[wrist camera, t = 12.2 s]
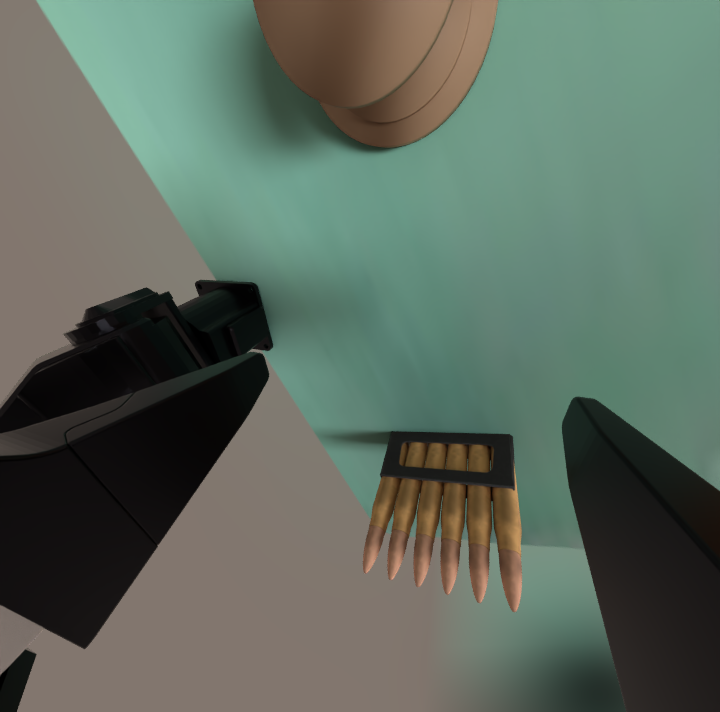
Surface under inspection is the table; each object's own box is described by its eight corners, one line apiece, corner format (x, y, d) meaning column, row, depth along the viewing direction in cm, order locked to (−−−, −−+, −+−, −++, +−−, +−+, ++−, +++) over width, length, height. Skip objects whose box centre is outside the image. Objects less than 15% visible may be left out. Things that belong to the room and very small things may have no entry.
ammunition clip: (512, 434, 24) (534, 609, 15) (513, 449, 25) (535, 624, 15) (391, 431, 29) (348, 562, 19) (395, 444, 29) (356, 577, 20)
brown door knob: (322, 154, 18) (258, 151, 13) (295, -91, 13) (173, -261, 8) (480, 138, 15) (481, 125, 10) (521, -183, 10) (565, -541, 5)
